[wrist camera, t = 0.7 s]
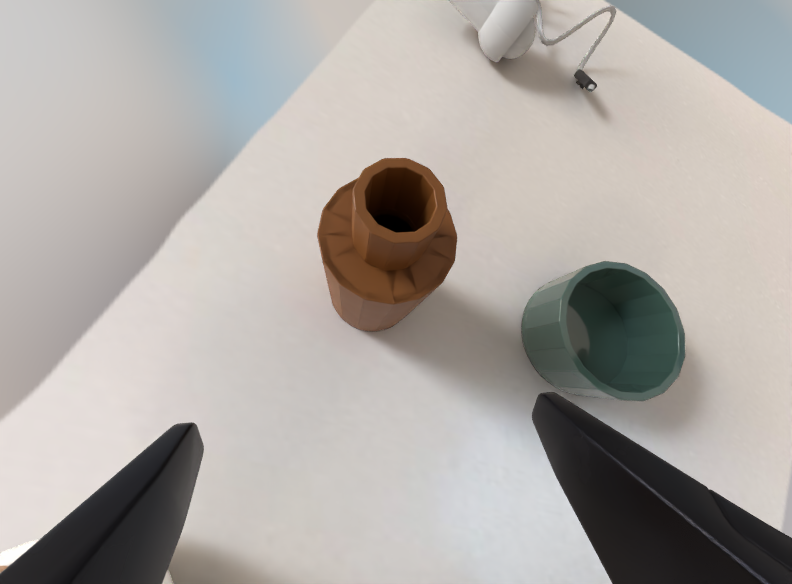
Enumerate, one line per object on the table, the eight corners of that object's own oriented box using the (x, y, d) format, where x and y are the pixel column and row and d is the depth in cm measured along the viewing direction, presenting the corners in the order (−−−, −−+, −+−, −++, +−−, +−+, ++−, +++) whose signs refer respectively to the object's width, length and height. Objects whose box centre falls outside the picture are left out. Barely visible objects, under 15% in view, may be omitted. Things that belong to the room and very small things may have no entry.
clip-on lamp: (580, 75, 36) (465, -55, 32) (641, 21, 30) (508, -145, 26) (548, 137, 31) (409, -4, 28) (611, 88, 26) (447, -99, 22)
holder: (647, 347, 25) (710, 342, 21) (574, 421, 23) (628, 433, 19) (574, 259, 26) (620, 237, 22) (497, 322, 24) (531, 311, 20)
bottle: (427, 300, 24) (518, 223, 11) (362, 348, 22) (382, 321, 10) (381, 238, 24) (416, 98, 12) (314, 280, 23) (273, 172, 10)
